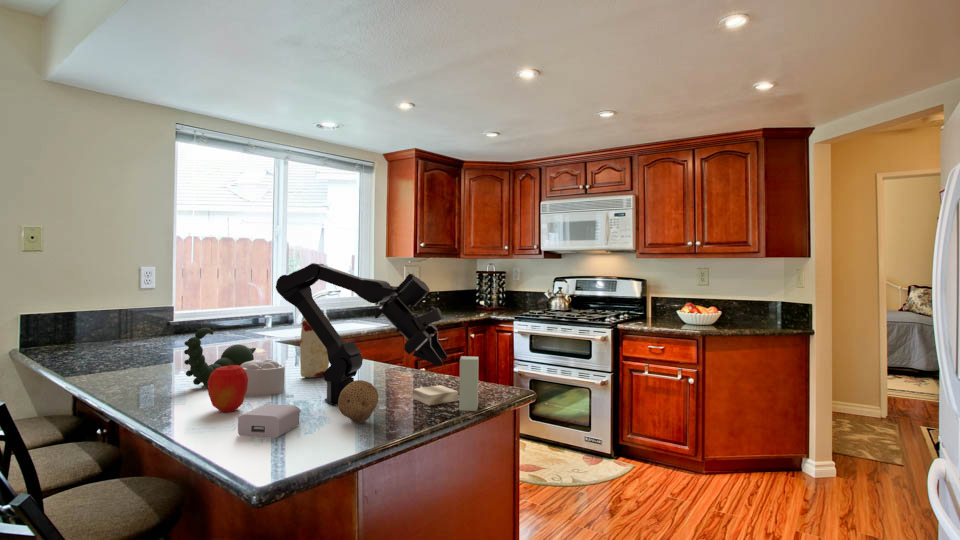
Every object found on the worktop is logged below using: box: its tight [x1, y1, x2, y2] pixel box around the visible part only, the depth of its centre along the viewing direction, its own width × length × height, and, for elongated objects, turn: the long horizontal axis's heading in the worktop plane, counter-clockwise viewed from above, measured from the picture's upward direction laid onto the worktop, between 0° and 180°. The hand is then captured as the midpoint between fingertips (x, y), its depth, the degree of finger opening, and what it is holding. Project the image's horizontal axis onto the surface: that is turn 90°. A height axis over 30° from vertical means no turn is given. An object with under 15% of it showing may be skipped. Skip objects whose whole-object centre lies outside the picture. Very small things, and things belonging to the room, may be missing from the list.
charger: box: [237, 403, 302, 439], centre depth 114 cm, size 5×9×15 cm
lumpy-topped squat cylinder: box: [240, 358, 286, 396], centre depth 147 cm, size 10×13×9 cm
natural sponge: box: [337, 379, 379, 425], centre depth 117 cm, size 9×9×10 cm
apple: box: [207, 363, 248, 413], centre depth 126 cm, size 9×9×12 cm
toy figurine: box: [183, 327, 257, 387], centre depth 156 cm, size 9×19×25 cm
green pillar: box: [458, 355, 480, 412], centre depth 131 cm, size 4×4×13 cm
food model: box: [299, 316, 331, 378], centre depth 167 cm, size 10×7×20 cm
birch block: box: [412, 384, 459, 406], centre depth 140 cm, size 9×9×3 cm
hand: (444, 361), depth 132 cm, fingers open, 9 cm apart
